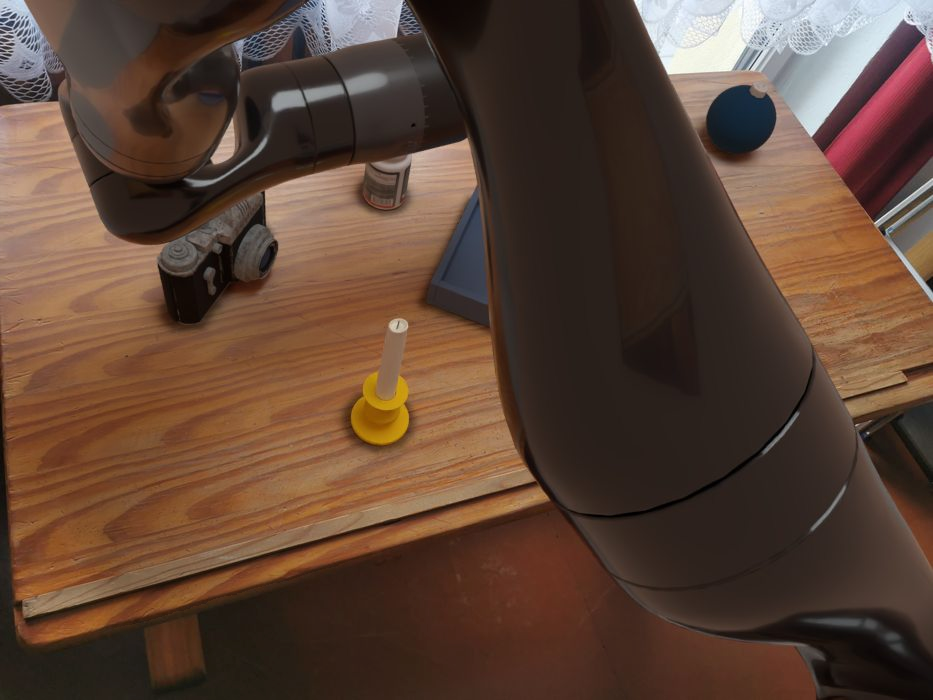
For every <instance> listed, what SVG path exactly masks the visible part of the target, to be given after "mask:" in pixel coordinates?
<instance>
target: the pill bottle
mask: <svg viewBox="0 0 933 700" xmlns="http://www.w3.org/2000/svg"><path fill="white" fill-rule="evenodd" d="M412 163H413V154H409V155H405V156H401V157H397V158H393V159H389V160H385V161H381V162H376V163H367V164H365V165H364V174H363V175H364V176H363V184H362V195H363V198H364V199H365V201H366V202H367V203H368V204H369V205H370V206H371V207H373V208H376V209H379V210H386V211H387V210H394V209H396V208H398V207H400V206H402V204H403V203H404V202H405V200H406V197H407V192H408V191H407V190H408V184H409V180H410V175H411V173H410V172H411V168H412Z"/></svg>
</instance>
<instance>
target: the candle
mask: <svg viewBox="0 0 933 700" xmlns="http://www.w3.org/2000/svg"><path fill="white" fill-rule="evenodd" d="M408 329H409V323H408V321H407V320H406V319H404V318H398V317H397V318H394V319H392V320H390V322H389V323H388V325H387V329H386V332H385V337H384V342H383V346H382V352H381V358H380V363H379V367H378V371H375V372H373V373H371V374H370V375H368V376H367V378H366V379H365V380H364V382H363V384H362V396H361V397H360V398H359V399H358V400H357V401H356V402H355V403H354V405H353V407H352V409H351V413H350V424H351V427H352V429H353V432H354V433H355V435H357V437H358V438H359V439H360V440H362V441H363V442H365V443H366V444H370V445H373V446H379V447H380V446H388V445H391V444H394V443H397V442H398V441H399V440H401V439H402V438H403V436H404V435H405V434H406V432H407V430H408V429H409V424H410V415H409V410H408V409H407V407H406V404H405V403H406V402H407V399H408V397H409V391H410V390H409V386H408V383H407V381H406V380H405V379H404V378H403V377H402V376H401V375H400V371H401V367H402V363H403V357H404V352H405V349H406V348H405V347H406V342H407V336H408V331H409V330H408Z"/></svg>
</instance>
